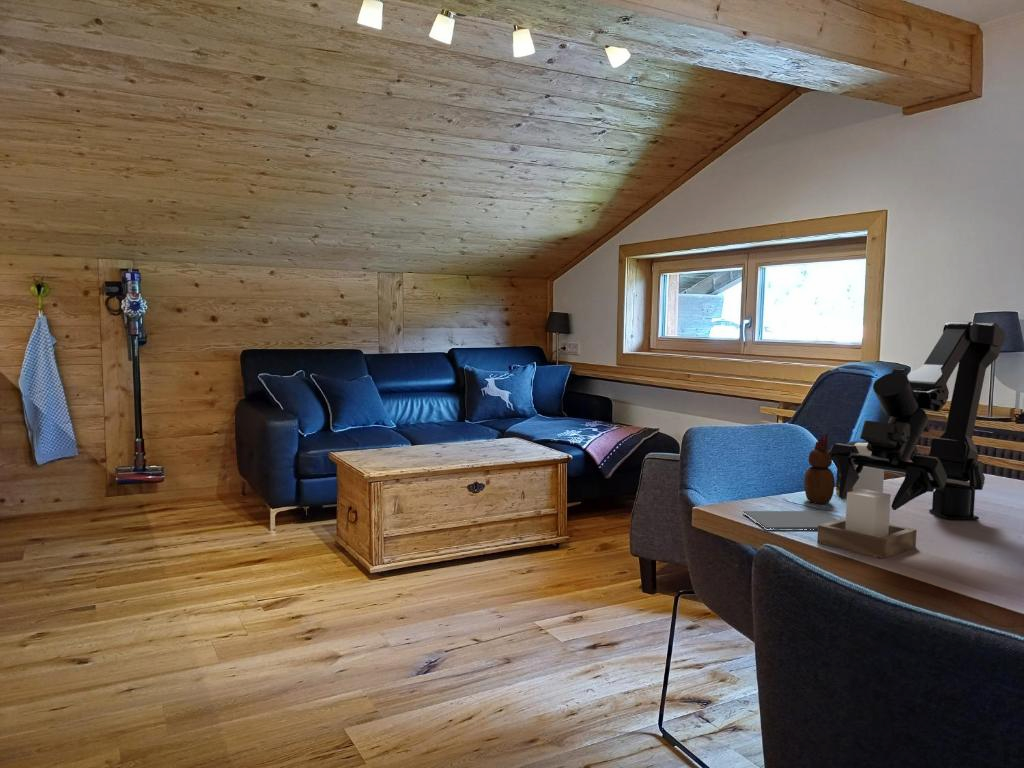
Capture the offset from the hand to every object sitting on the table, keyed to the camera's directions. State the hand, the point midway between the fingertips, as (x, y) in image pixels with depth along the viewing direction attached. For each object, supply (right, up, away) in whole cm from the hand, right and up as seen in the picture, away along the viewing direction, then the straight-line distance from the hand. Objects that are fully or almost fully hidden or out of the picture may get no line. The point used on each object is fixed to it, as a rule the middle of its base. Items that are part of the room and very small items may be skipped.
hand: (866, 503), depth 132 cm
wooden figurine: (+5, -5, +32) cm, 33 cm away
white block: (0, -7, +1) cm, 7 cm away
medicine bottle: (+16, -5, +39) cm, 42 cm away
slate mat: (-6, -6, +16) cm, 18 cm away
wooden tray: (0, -7, +1) cm, 7 cm away
